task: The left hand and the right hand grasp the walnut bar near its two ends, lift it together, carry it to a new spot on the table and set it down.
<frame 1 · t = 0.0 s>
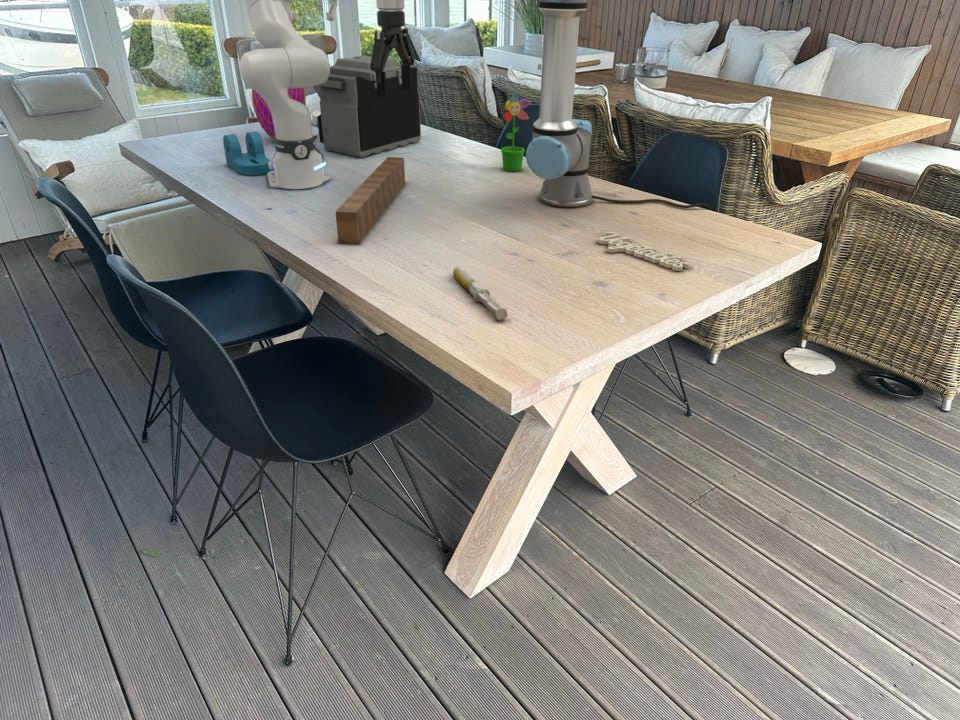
left hand: (311, 21, 168), 48 cm above the table, tool pointing down, fingers open, 8 cm apart
right hand: (394, 93, 197), 28 cm above the table, tool pointing down, fingers open, 13 cm apart
decorative egg: (284, 140, 265), on the table
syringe: (478, 297, 145), on the table
ashtray: (340, 123, 293), on the table
camera mount: (251, 168, 229), on the table
grey black box: (371, 146, 258), on the table
bar: (375, 210, 194), on the table
decorative sign: (638, 254, 167), on the table
potted flower: (512, 169, 232), on the table
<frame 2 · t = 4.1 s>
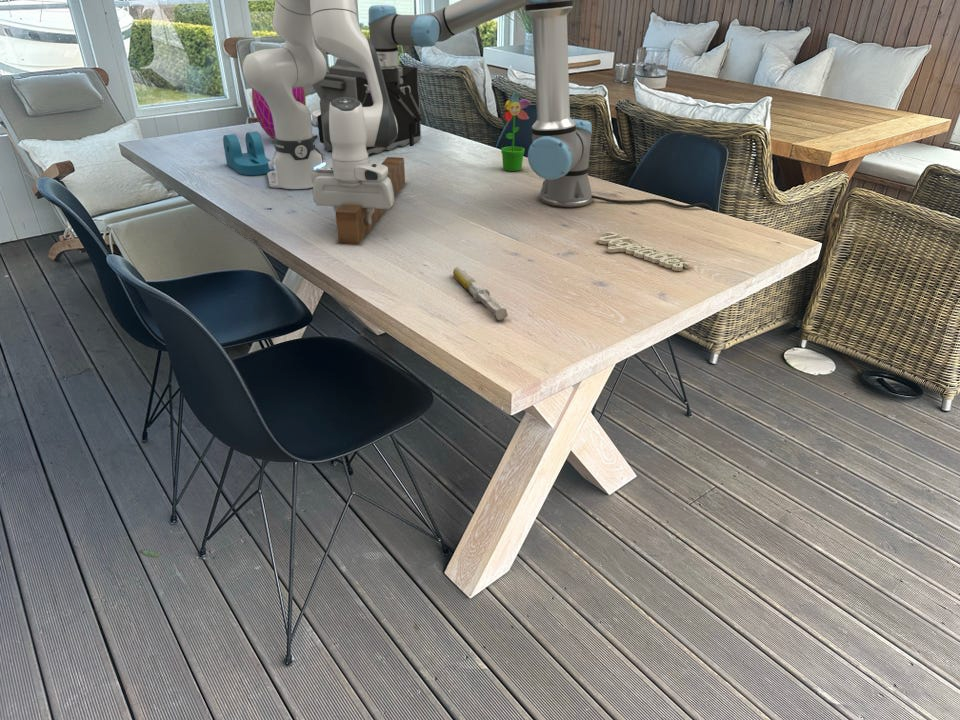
left hand: (355, 223, 176), 3 cm above the table, tool pointing down, fingers closed on bar, 5 cm apart
right hand: (389, 144, 203), 14 cm above the table, tool pointing down, fingers open, 13 cm apart
bar: (375, 210, 194), on the table, touching left hand
everything else where it was.
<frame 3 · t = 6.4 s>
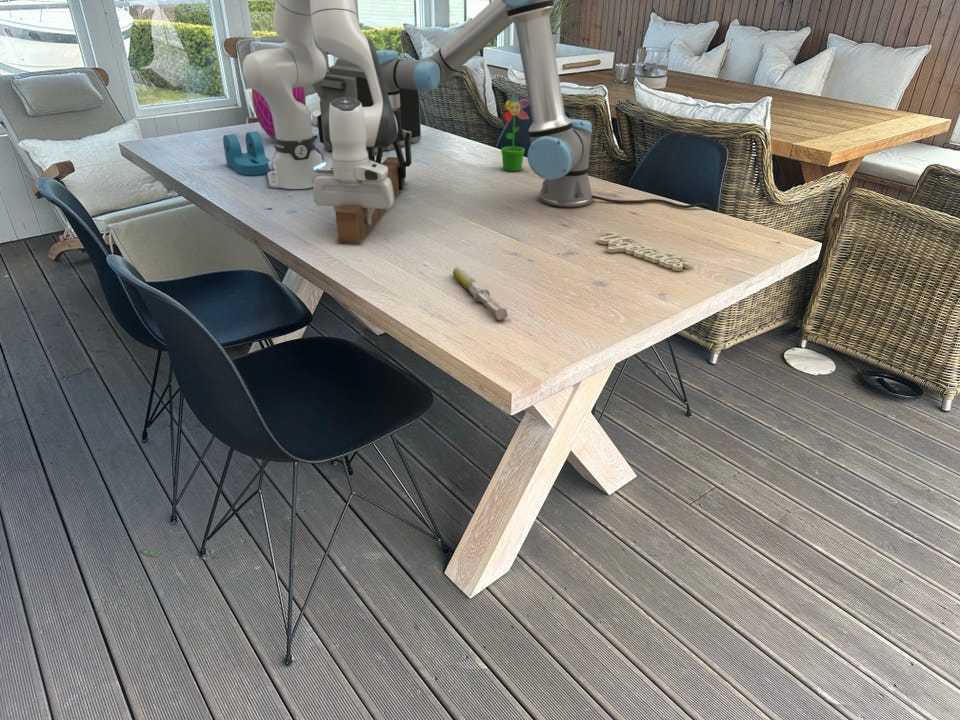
left hand: (355, 223, 176), 3 cm above the table, tool pointing down, fingers closed on bar, 5 cm apart
right hand: (391, 188, 210), 1 cm above the table, tool pointing down, fingers closed on bar, 5 cm apart
bar: (375, 210, 194), on the table, touching right hand, left hand
everything else where it was.
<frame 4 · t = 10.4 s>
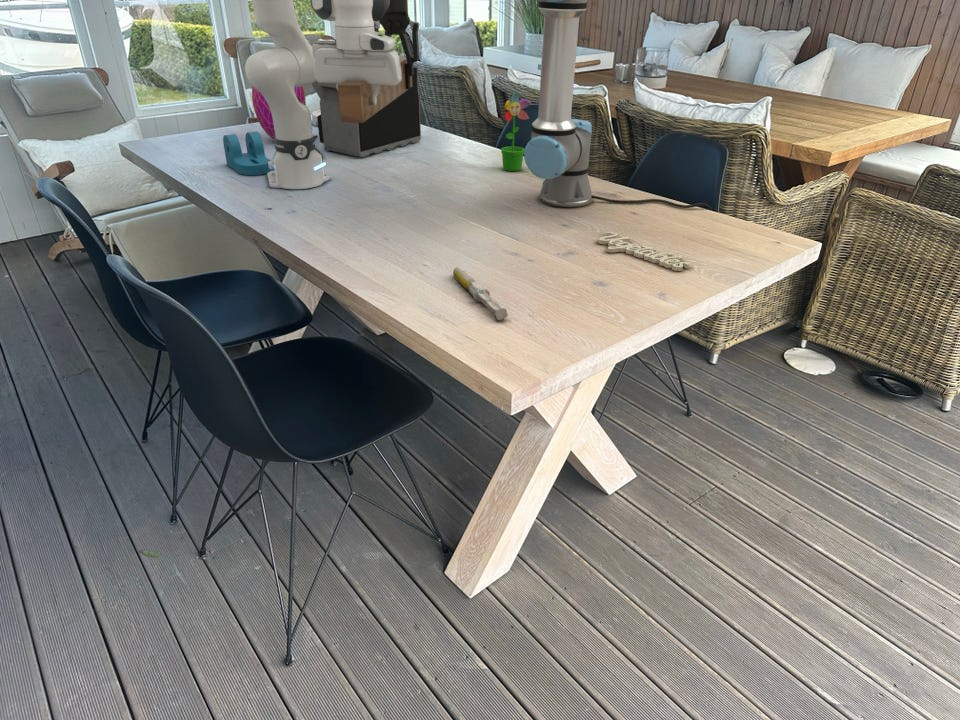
left hand: (359, 104, 163), 32 cm above the table, tool pointing down, fingers closed on bar, 5 cm apart
right hand: (398, 87, 197), 29 cm above the table, tool pointing down, fingers closed on bar, 5 cm apart
bar: (381, 102, 181), point 29 cm above the table, touching right hand, left hand
everything else where it was.
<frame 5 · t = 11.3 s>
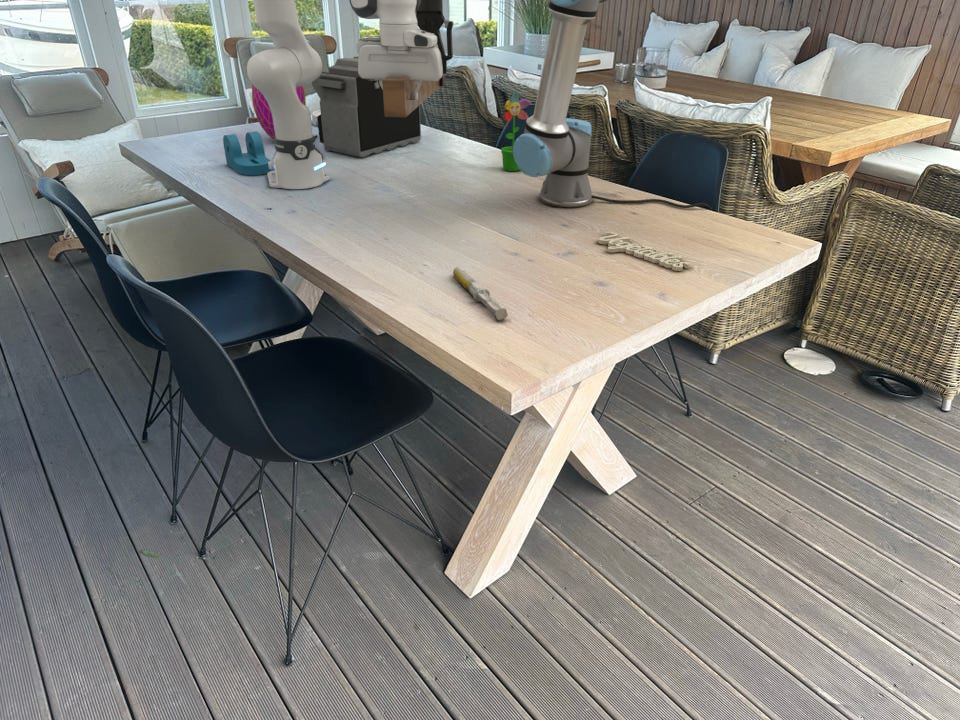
left hand: (401, 99, 168), 32 cm above the table, tool pointing down, fingers closed on bar, 5 cm apart
right hand: (431, 85, 202), 29 cm above the table, tool pointing down, fingers closed on bar, 5 cm apart
bar: (418, 98, 186), point 29 cm above the table, touching right hand, left hand
everything else where it was.
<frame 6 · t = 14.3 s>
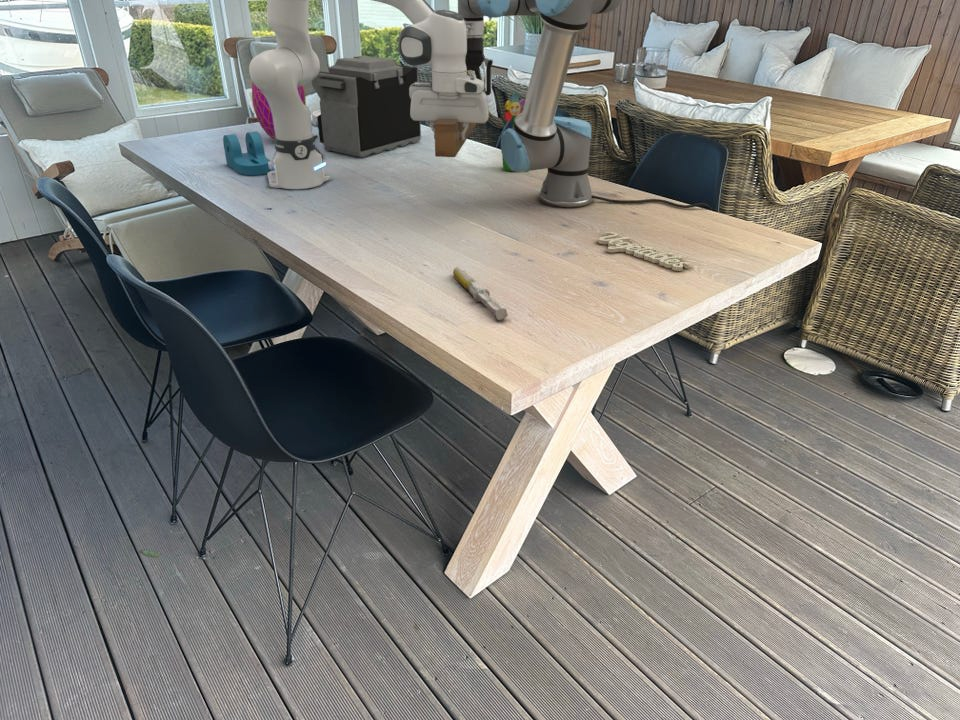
left hand: (449, 139, 180), 21 cm above the table, tool pointing down, fingers closed on bar, 5 cm apart
right hand: (470, 118, 214), 18 cm above the table, tool pointing down, fingers closed on bar, 5 cm apart
bar: (460, 134, 198), point 18 cm above the table, touching right hand, left hand
everything else where it was.
when the right hand's fingers open (2 cm above the table, at t = 16.4 s): bar drops 1 cm, on the table.
when the left hand's fingers open (4 cm above the table, at t = 16.6 s): bar stays where it is, on the table.
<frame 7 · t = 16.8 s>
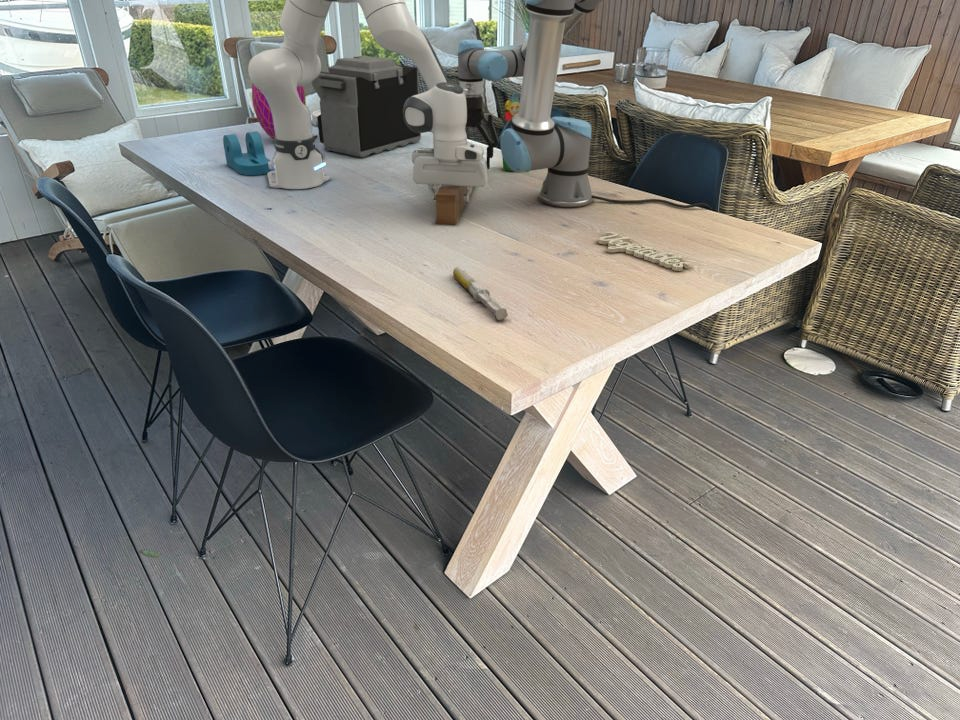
left hand: (450, 200, 188), 4 cm above the table, tool pointing down, fingers open, 7 cm apart
right hand: (470, 167, 222), 3 cm above the table, tool pointing down, fingers open, 11 cm apart
bar: (461, 195, 207), on the table
everything else where it was.
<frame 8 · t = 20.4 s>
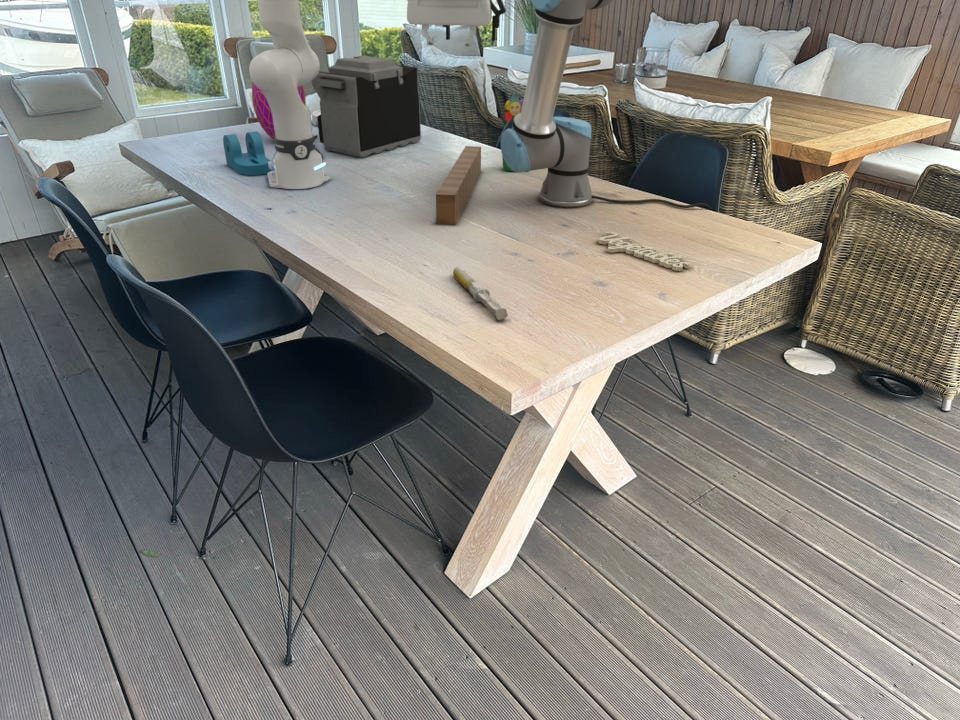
left hand: (449, 45, 168), 43 cm above the table, tool pointing down, fingers open, 8 cm apart
right hand: (470, 40, 203), 41 cm above the table, tool pointing down, fingers open, 13 cm apart
nothing on the table moved.
at the end: bar inside the target area (0.2 cm from its centre), on the table; bar tilted 0°; bar never tilted more than 2° during the clip; both hands held the bar at the same time; the left hand is holding nothing; the right hand is holding nothing; bar at rest at the end (0.0 cm/s) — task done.
